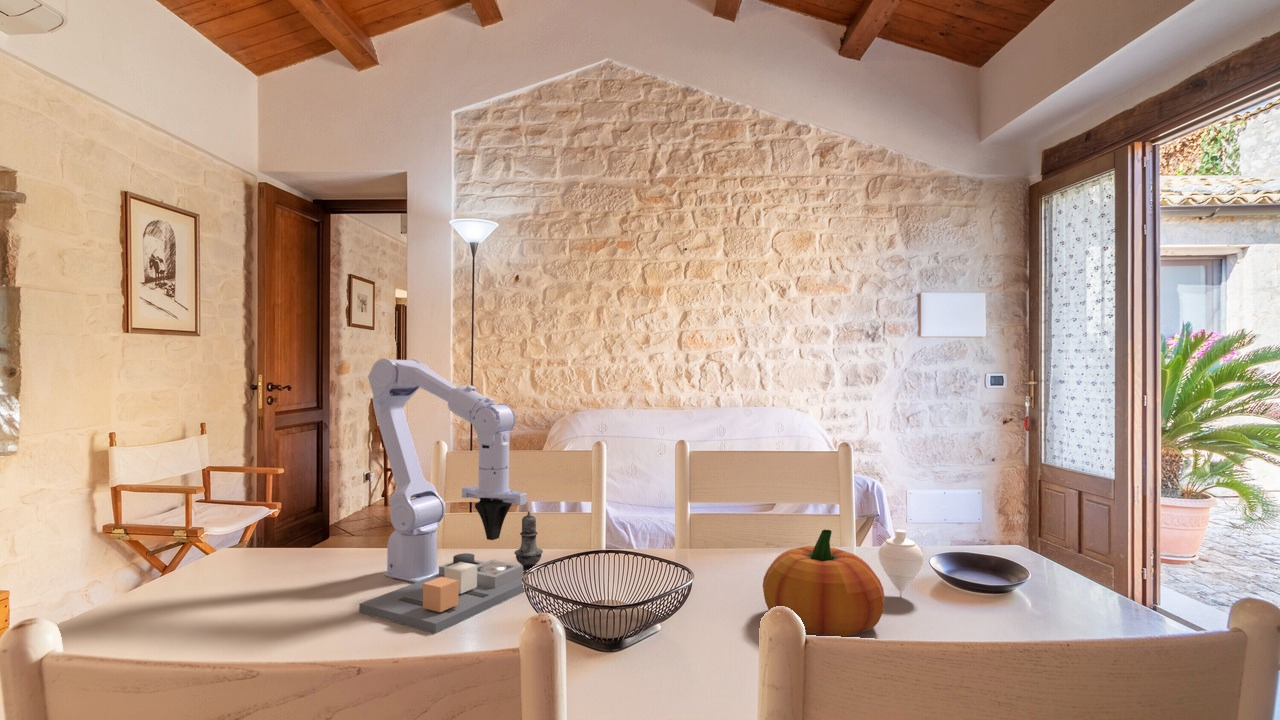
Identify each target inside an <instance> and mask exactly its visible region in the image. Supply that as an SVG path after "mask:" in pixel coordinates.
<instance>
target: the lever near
mask: <svg viewBox="0 0 1280 720" xmlns="http://www.w3.org/2000/svg"><path fill="white" fill-rule="evenodd" d="M458 596H459V580H455V579H450V578H445V577H439V578H436V579H434V580H431V581H428V582H426V583H423V608H425V609H429V610H433V611H437V612H442V611H444V610H447V609H449V608H451V607H454V606H456V605H458Z"/></svg>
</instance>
